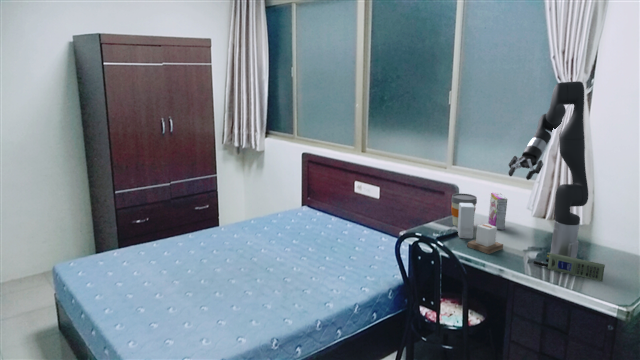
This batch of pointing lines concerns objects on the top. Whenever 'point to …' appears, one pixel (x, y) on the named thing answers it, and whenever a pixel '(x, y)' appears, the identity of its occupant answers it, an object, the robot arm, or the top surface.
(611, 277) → the top surface
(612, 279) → the top surface
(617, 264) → the top surface
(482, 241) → the white box
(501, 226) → the candy bar box
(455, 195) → the lidded canister
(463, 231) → the skincare box
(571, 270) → the handheld radio
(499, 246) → the shaft base
